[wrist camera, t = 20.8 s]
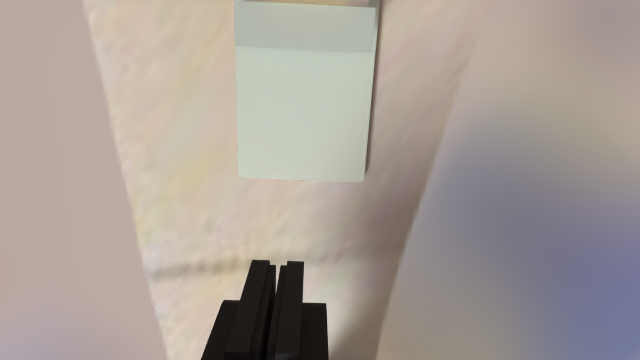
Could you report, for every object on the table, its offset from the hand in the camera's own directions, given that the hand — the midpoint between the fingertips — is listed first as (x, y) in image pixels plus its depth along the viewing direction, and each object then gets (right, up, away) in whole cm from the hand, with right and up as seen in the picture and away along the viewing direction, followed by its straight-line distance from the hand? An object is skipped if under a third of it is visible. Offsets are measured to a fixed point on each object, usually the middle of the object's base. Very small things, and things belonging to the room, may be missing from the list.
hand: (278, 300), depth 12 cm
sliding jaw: (0, +17, +19) cm, 25 cm away
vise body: (0, +15, +21) cm, 26 cm away
